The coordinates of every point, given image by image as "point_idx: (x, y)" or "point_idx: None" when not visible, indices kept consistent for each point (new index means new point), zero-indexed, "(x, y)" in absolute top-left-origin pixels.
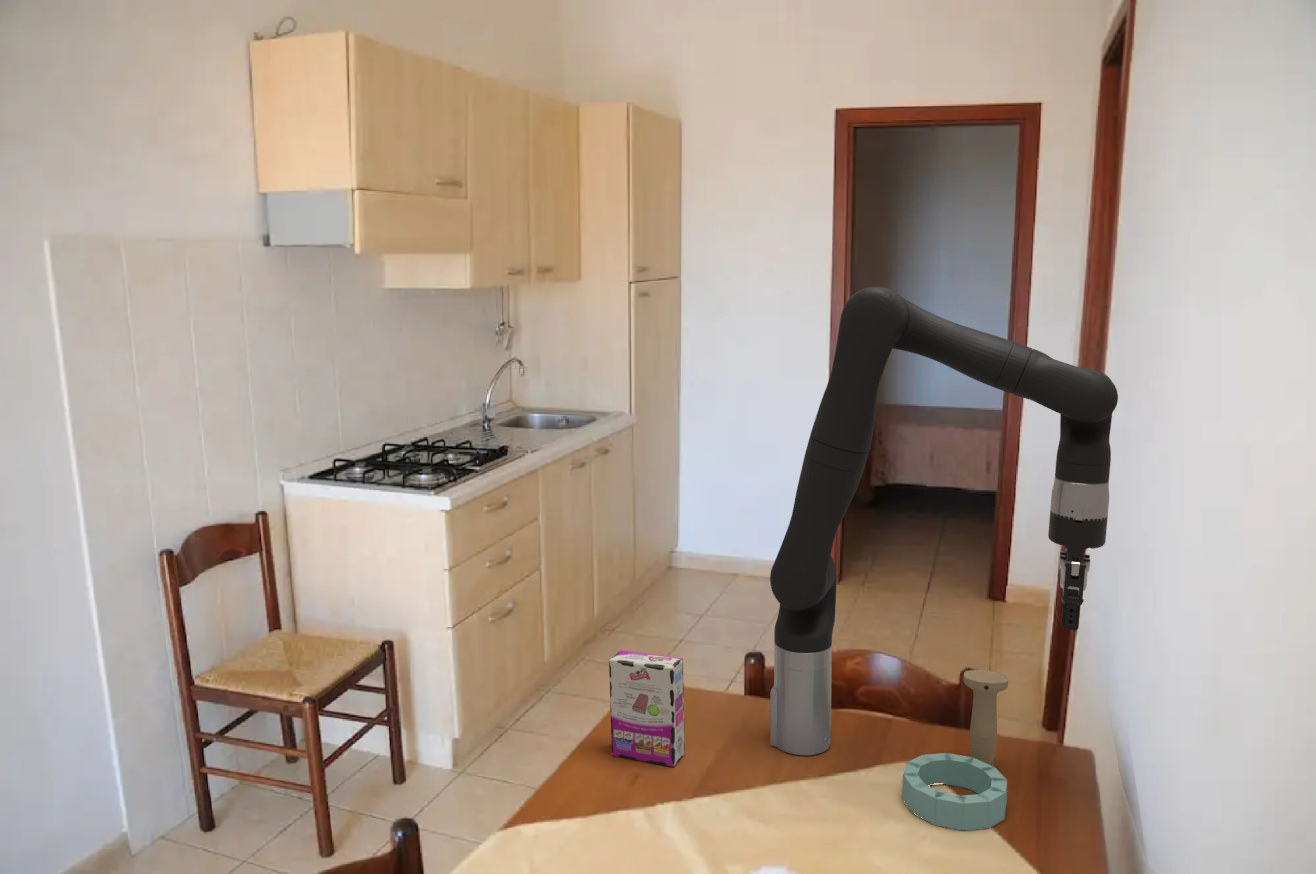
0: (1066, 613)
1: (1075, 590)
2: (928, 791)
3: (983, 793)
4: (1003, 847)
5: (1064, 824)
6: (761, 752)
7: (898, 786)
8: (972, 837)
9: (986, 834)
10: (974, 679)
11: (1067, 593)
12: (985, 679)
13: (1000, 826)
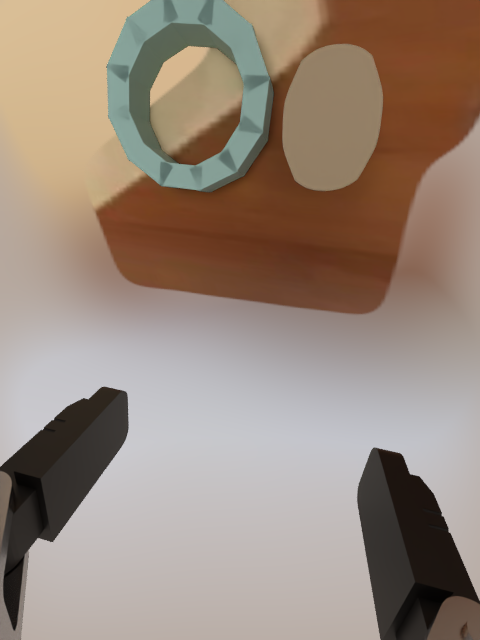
0: (30, 442)
1: (382, 601)
2: (122, 50)
3: (147, 150)
4: (114, 182)
5: (189, 262)
6: None
7: None
8: None
9: None
10: (300, 84)
11: (389, 543)
12: (307, 121)
13: None
